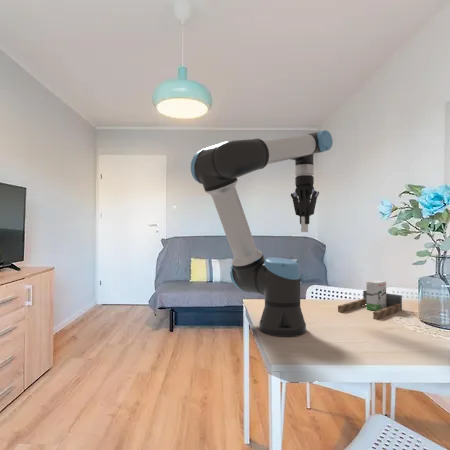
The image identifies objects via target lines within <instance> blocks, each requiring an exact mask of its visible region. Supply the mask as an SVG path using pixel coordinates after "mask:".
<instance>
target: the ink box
mask: <svg viewBox="0 0 450 450" xmlns="http://www.w3.org/2000/svg"><path fill="white" fill-rule="evenodd" d="M365 287H366V290H365V291H367V305H366V310H367V311H373V310H374V311H373V312H375V311H378V310H381V309H384V308H386V293H387V281H386V280H378V279H372V280H367V281H366V286H365Z"/></svg>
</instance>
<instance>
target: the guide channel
mask: <svg viewBox="0 0 450 450" xmlns="http://www.w3.org/2000/svg"><path fill="white" fill-rule="evenodd" d="M362 293H363V295H362V298H361V299H358V300H357V299H356V300H354V301H351V302H347V303H343V304H340V305H337V313H344V312H349V311H351V310H354V308H355V309H357V307H358V308H360V307H359V306H361V307H363V306H362V305H364V306H366V305H365V304H367V291H366V290H363V291H362ZM402 310H403V296H402V295H400V294H394V293H393V294H392V293H387V292H386V308H384V309H381V310H378V311H373V312H372V314H373V315H372V316H373V317H372V319H374V320H379V319H381V318H385V317H387V316H390V315H392V314H395V313H397V312H401V311H402Z"/></svg>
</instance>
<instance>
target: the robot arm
mask: <svg viewBox="0 0 450 450" xmlns="http://www.w3.org/2000/svg"><path fill="white" fill-rule="evenodd" d="M333 141H334V140H333V136H332V133H331V132H330V131H329V130H326V129H323V130H318V131H316V132H311V133H304V134H298V135H291V136H286V137H279V138H274V139H273V138H272V139H266V140H264V139H261V138H248V139H236V140H235V139H233V140H227V141H223V142H220V143H217V144H214V145H211V146H207V147H204V148H202V149H201V150H199V151H197V152H195V154H194V155H193V157H192V159H191V160H190V161H191V162H190V174H191V176H192V178H193V179H194V180H195V182H197V183H199V184H201V185H202V187H203V189H204V192H205V193H207V194H209V195H210V196H211V198H212V200H213V204H214V206H215V208H216V212H217V215H218V217H219V220H220V224H221V225H222V229H223V231H224V233H225V237H226V239H227V242H228V244H229V247H230V250H231V253H232V256H233V258H232V260H231V266H230V270H231V271H230V272H229V275H230V280H231V282H232V284H233V285H234V286H235V288H237V289H239V290H241V291H244V292H247V293H253V294H258V295H264V307H263V311H262V314H261V317H260V320H259V331H260V332H261V333H263V334H266V335H269V336H270V335H271V336H275V337H297V336H302V335H304V334H305V333H306V332H307V327H306V326H307V324H306V321H305V318H304V315H303V311H302V308H301V307H302V306H301V280H302V279H301V276H302V274H301V266H300V263H298V261H295V260H294V259H293V260H292V259H288V258H283V257H282V258H280V257H267V258H265V256H264V253H263V251H262V250H260V249H257V246H256V244H255V241H254V238H253V235H252V232H251V229H250V227H249V224H248V220H247V217H246V214H245V211H244V209H243V206H242V202H241V199H240V197H239V194H238V191H237V188H236V185H237V183H238V178H240V177H242V176H245V175H247V174H250V173H252V172H253V173H254V172H255V171H258V170H259V171H260V170H263V169H265V168H266V167H267V166H268V165H270V164H274V163H275V164H276V163H278V162H283V161H288V160H291V161H295V164H294V165H295V166H294V167H295V168H294V169H295V170H294V175H295V178H294V179H295V182H294V183H295V184H294V185H295V190H294V192H292V193H290V197H291V198H292V203H293V208H294V212H295V215H296V216H298V217H299V225H300V226H301V227H300V228H301V229H300V232H301V233H309V225H310V216H312V215H314V214H315V209H316V205H317V204H316V203H317V201H318V200H317V199H318V197H319V194H320V191H317V190H315V187H314V182H315V181H314V180H315V179H314V176H313V175H315V174H314V173H315V170H314V169H315V168H314V166H315V165H314V156H315V154H319V153H324V152H327V151H330V150H331V149H332V147H333V144H334V143H333Z"/></svg>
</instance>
